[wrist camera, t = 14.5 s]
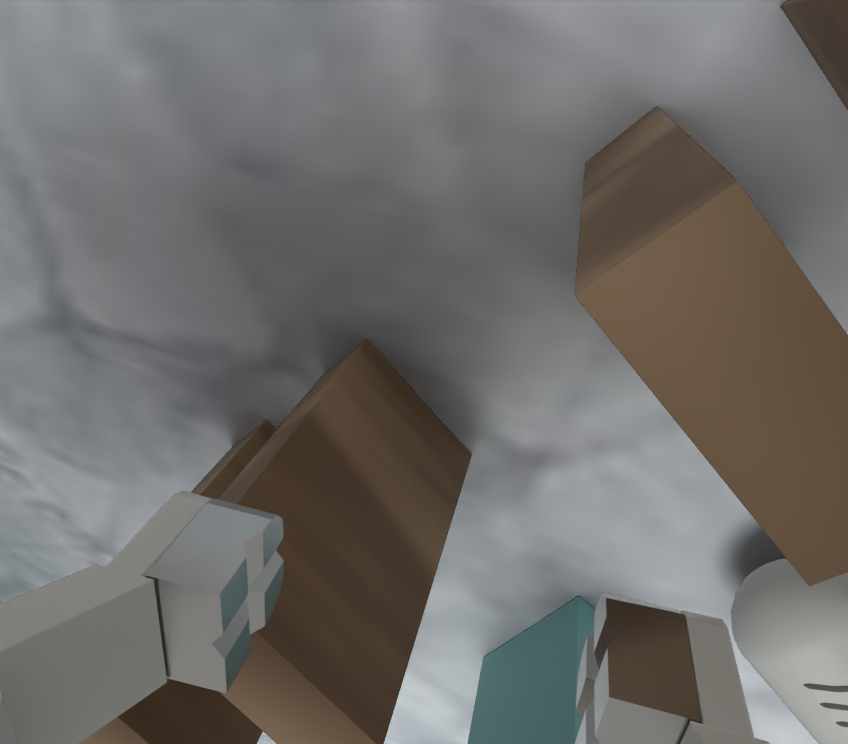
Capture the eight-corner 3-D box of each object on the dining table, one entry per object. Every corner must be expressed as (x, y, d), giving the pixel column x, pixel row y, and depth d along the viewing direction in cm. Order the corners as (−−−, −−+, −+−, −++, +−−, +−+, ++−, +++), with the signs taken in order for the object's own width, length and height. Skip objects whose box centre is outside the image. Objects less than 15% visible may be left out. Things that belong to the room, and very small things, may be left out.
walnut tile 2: (700, 313, 17) (808, 587, 8) (585, 162, 16) (574, 295, 7) (773, 267, 16) (980, 521, 8) (656, 105, 15) (737, 180, 7)
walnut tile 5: (328, 543, 24) (175, 827, 15) (231, 447, 23) (9, 690, 14) (365, 520, 23) (224, 808, 14) (266, 419, 22) (51, 661, 13)
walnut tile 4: (426, 483, 22) (312, 775, 13) (324, 373, 21) (126, 609, 12) (471, 454, 21) (381, 748, 12) (366, 338, 20) (187, 567, 11)
